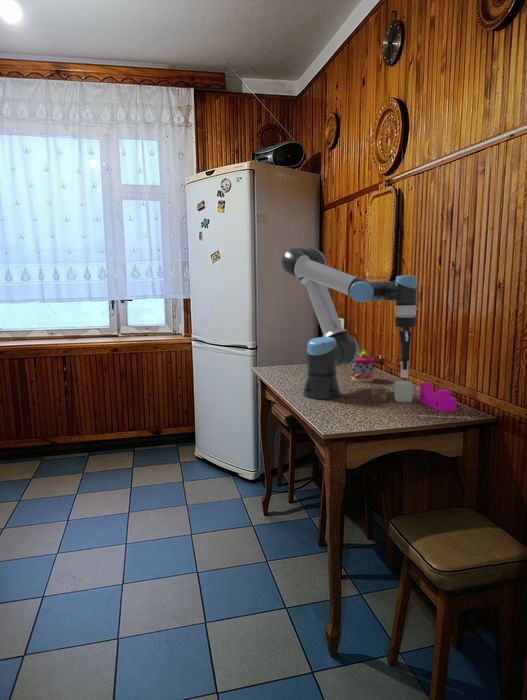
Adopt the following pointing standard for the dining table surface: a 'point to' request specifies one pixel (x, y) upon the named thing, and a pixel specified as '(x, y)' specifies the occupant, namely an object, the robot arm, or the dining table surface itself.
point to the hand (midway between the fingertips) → (404, 377)
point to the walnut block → (378, 393)
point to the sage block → (403, 391)
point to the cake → (362, 367)
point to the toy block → (437, 398)
